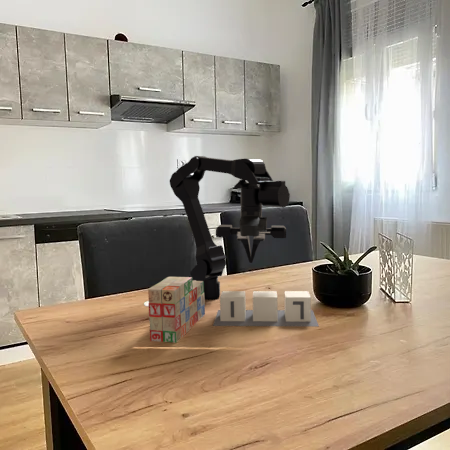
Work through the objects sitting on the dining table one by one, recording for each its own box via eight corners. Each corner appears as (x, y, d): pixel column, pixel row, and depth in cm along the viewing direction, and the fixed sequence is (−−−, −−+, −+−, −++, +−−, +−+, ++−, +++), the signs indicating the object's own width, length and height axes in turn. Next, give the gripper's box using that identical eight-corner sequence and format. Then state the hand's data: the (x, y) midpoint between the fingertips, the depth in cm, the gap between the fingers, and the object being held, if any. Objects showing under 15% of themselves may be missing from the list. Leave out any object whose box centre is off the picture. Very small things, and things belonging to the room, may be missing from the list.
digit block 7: (285, 321, 109) (285, 297, 109) (284, 314, 115) (284, 291, 115) (310, 321, 109) (310, 297, 108) (308, 314, 115) (308, 291, 114)
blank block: (253, 321, 110) (252, 297, 110) (253, 313, 116) (253, 291, 115) (277, 321, 110) (277, 297, 109) (276, 314, 116) (276, 291, 115)
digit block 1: (220, 321, 111) (219, 297, 110) (222, 313, 117) (222, 291, 116) (244, 321, 110) (244, 297, 110) (245, 313, 116) (245, 291, 116)
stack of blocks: (182, 314, 119) (181, 268, 118) (205, 315, 117) (204, 269, 116) (149, 343, 98) (147, 288, 97) (176, 345, 97) (174, 289, 95)
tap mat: (212, 327, 107) (212, 325, 107) (218, 311, 120) (218, 309, 120) (318, 327, 105) (318, 326, 105) (312, 311, 118) (312, 310, 118)
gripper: (212, 207, 114) (213, 268, 116) (287, 208, 112) (286, 269, 114) (218, 204, 125) (218, 259, 127) (286, 205, 123) (285, 261, 125)
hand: (250, 262), depth 123 cm, fingers closed
